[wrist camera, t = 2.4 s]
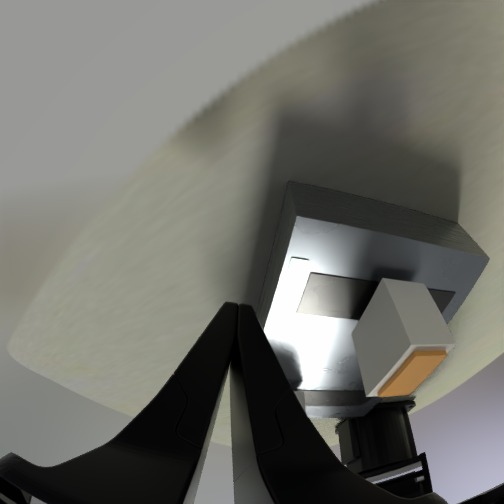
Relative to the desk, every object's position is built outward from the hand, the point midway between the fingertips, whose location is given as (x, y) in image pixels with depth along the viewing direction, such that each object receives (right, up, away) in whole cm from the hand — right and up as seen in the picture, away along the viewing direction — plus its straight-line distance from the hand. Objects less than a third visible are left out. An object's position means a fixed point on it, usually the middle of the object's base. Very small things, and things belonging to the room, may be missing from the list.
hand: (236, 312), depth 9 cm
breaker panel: (+5, -2, +6) cm, 8 cm away
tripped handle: (+6, 0, +1) cm, 6 cm away
